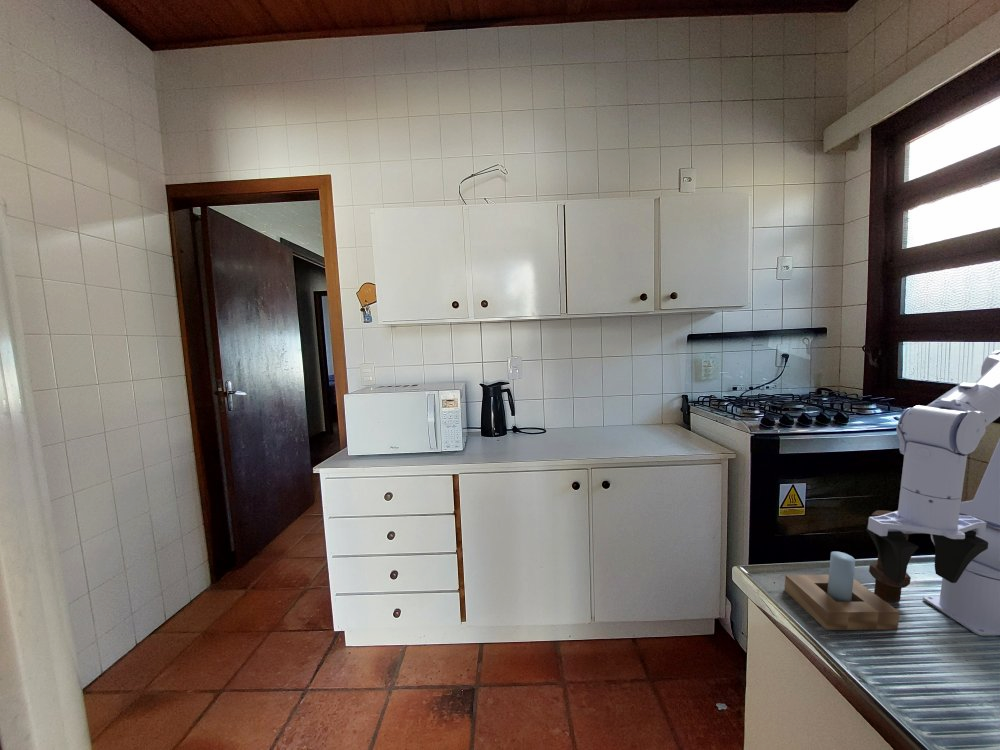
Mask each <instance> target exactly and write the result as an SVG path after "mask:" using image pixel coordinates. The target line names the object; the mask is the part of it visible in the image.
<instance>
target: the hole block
mask: <svg viewBox="0 0 1000 750" xmlns="http://www.w3.org/2000/svg"><path fill="white" fill-rule="evenodd" d="M784 578H785V579H784V589H783V591H785V593H787V594H788V595H789V596H790V597H791V598H792V599H793V600H794V601H795V602H796V603H798V605H799V606H800V607H802V609H804V610H805V611H806V612H807V613H808V614H809V615H810V616H811V617H812V618H814V620H815V621H817V623H819V625H821V627H823V628H824V629H825V630H828V631H830V630H831V631H832V630H834V631H835V630H838V631H839V630H840V631H843V630H847V631H848V630H853V631H854V630H898V629H899V627H898V626H899V623H900V621H899V619H900V610H898V609H896V608H895V607H894V606H892V605H890V604H889V602H886V601H884V600H882V599H881V598H880V597H878V596H877V595H876V594H874V591H871V590H870V589H869V588H867V587H866V586H865V585H863V584H862V583H860V582H859V581H858V580H856V579H855V578H854V579H853V589H852V599H851V602H836V601H835V600H834V599H833V598H831V597H830V596H829V595H828V594H827V591H828V580H829V574H785V577H784Z"/></svg>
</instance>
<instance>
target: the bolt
mask: <svg viewBox="0 0 1000 750" xmlns="http://www.w3.org/2000/svg"><path fill="white" fill-rule="evenodd" d="M891 512H894V511H891V510H879V509H878V510H875V511H874V512H872V513H871V516H870V517H876V516H881V515H885V514H888V513H891ZM910 535H914V533H904V536H903V537H906V540H907V541H909V536H910ZM877 553H878V552H877ZM868 572H869V574H870V575H871V576H872V577H873V578H874V579H875V581H874V588H873V593H874V594H876V595H877V596H878V597H880V598H881V599H882V600H884V601H885V602H887V603H892V604H894V603H899V602H900V601H901V594H902V589H903V588H906V587H908V586H909V585H911V579H912V578H911V576H910V575H909V573H908V572H906V575H905V579H904V581H903V582H902V583H896V582H894V581H893V580H891V579H890V578H888V577H887V576H885V575H884V573H883V568H882V564H881V560H880V556H879V553H878V554H877V560H876V561H875V562H872V563H871V564H870V565H869V567H868Z"/></svg>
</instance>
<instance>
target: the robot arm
mask: <svg viewBox="0 0 1000 750" xmlns="http://www.w3.org/2000/svg"><path fill="white" fill-rule="evenodd" d="M999 418H1000V350H998V349H997V350H994V351H992V352H991V353H990V354H988V355H987V356H986V357H985V358H984V361H982V366H981V371H980V377H979V378H978V379H977V380H976V381H975V382H971V383H970V382H961V383H960V384H958V385H956V386H955V387H952V388H951V389H950V390H947V391H946V392H945V393H943V394H942V395H940V396H939V397H938V398H936V399H935V400H933V401H932V402H930V403H928V404H927V405H920V404H918V405H915V406H913V407H908V408H906V409H905V410H903V411H902V412H901V415H900V416H899V418H898V423H897V424H896V436H897V438H898V440H899V453H900V454H901V455H903V463H902V465H903V466H902V473H901V479H900V490H899V499H898V508H897V510H895V511H893V512H891V513H888V514H885V515H881V516H876V517H871V516H869V517H868V523H867V525H866V532H867V534H868V535H869V537H870V538H871V540H872V542H873V544H874V546H875V548H876V550H877V553H879V556H880V560H881V564H882V568H883V573H884V575H885V576H887V577H888V578H890V579H891V580H893V581H894V582H896V583H902V582H903V581H904V579H905V575H906V573H907V570H908V565H909V563H910V560H911V558H912V556H913V555H914V553H916V552H917V550H918V549H919V548H920V547H919V546H918V545H916V544H914V543H913V542H911V541H909V540H906V537H903V536H904V533H913V534H927V535H930V539H931V542H932V543H933V545H934V571H935V575H937V576H939V577H941V578H942V579H941V586H940V587H941V588H940V595H927V596H926V595H924V596H922V600H923V601H925V602H926V603H928V604H930V605H931V606H933V607H934V608H935V609H937V610H939V611H940V612H942V613H943V614H945V615H946V616H948V617H949V618H950V619H952V620H954V621H956V622H957V623H959V624H960V625H962V626H963V627H964V628H966V629H968V630H969V631H971V632H972V633H973V634H976V635H978V636H1000V438H999V439H998V441H997V444H996V446H995V448H994V451H993V453H992V456H991V458H990V460H989V462H988V465H987V467H986V469H985V472H984V473H983V476H982V478H981V481H980V484H979V486H978V487H977V490H976V493H975V494H974V496H973V497H974V498H973V499H972V500H966V501H962V499H963V497H962V495H963V491H964V490H963V489H964V481H965V473H966V467H967V460H968V455H969V454H971V453H973V452H974V451H975V450H976V449H977V448H978V445H980V441H981V439H982V437H983V436H985V434H986V427H988V426H989V425H990V424H992V423H993V422H994V421H996V420H997V419H999Z"/></svg>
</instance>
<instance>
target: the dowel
mask: <svg viewBox="0 0 1000 750" xmlns="http://www.w3.org/2000/svg"><path fill="white" fill-rule="evenodd" d="M829 560H830V561H829V571H828V575H829V580H828V591H827V594H828V595H829V596H830V597H831V598H833V599H834V600H835V601H836V602H851V599H852V589H853V579H855V577H854V576H855V569H856V568H855V567H856V559H855V558H854V557H853V556H852V555H850V554H848V553H846V552H841V551H831V552H830V559H829Z"/></svg>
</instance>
